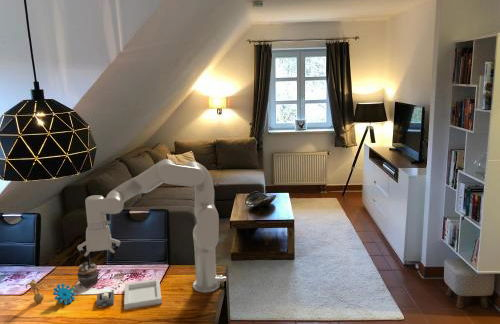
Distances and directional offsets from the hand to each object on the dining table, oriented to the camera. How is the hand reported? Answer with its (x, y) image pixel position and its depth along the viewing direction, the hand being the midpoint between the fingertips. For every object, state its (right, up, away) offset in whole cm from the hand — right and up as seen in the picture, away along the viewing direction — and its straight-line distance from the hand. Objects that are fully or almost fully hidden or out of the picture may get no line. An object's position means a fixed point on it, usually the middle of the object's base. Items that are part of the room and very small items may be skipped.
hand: (100, 261), depth 173 cm
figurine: (-30, -19, +4) cm, 36 cm away
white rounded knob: (+1, -19, +4) cm, 19 cm away
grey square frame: (+1, -19, +4) cm, 19 cm away
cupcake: (-14, -15, +21) cm, 29 cm away
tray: (+16, -18, +8) cm, 25 cm away
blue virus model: (-18, -19, +6) cm, 27 cm away
